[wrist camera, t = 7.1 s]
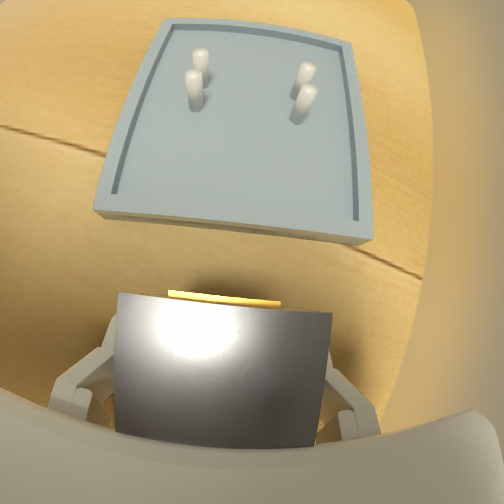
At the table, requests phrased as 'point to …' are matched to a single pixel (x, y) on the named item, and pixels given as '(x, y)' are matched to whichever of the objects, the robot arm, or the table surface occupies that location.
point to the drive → (218, 370)
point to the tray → (243, 135)
